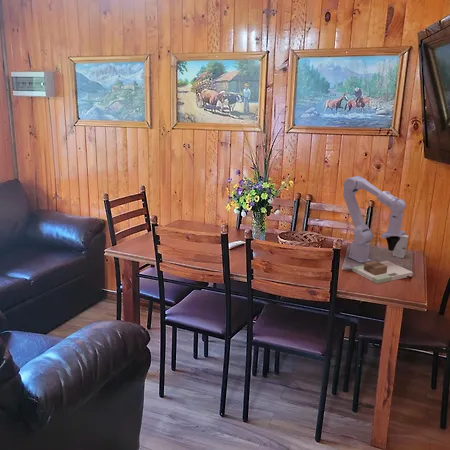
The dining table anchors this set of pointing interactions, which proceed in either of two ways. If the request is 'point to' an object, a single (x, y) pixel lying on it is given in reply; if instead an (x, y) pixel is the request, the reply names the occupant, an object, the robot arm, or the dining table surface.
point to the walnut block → (375, 268)
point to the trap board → (392, 273)
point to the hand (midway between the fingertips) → (390, 250)
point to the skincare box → (401, 246)
